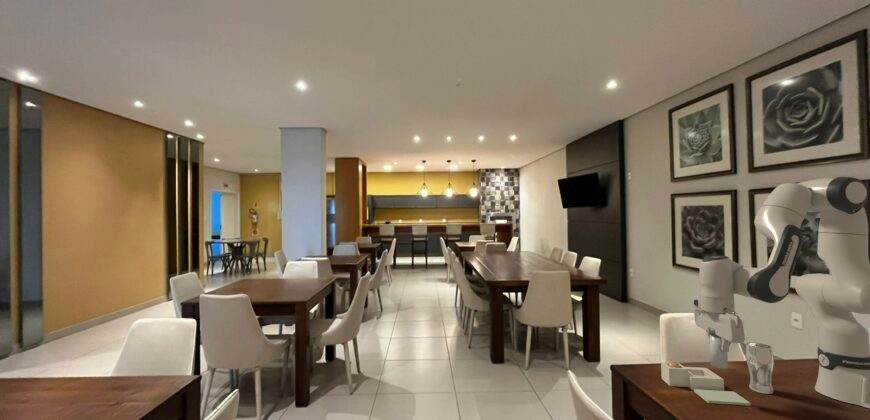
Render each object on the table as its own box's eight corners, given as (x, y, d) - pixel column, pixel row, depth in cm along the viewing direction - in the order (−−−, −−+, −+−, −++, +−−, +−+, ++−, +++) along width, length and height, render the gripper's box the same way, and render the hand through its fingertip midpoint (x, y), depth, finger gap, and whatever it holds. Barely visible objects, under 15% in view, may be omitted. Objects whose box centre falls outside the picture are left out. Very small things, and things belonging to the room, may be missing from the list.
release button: (677, 373, 129) (676, 362, 129) (681, 376, 126) (681, 365, 126) (667, 372, 129) (666, 361, 130) (671, 376, 126) (671, 364, 126)
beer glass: (780, 395, 117) (778, 349, 118) (756, 393, 119) (753, 347, 119) (765, 386, 124) (763, 342, 125) (742, 384, 125) (740, 341, 126)
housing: (706, 379, 130) (705, 362, 131) (724, 391, 120) (723, 373, 121) (659, 376, 133) (658, 360, 133) (672, 388, 123) (671, 370, 123)
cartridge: (722, 363, 118) (721, 326, 119) (732, 369, 113) (731, 331, 114) (706, 362, 119) (704, 326, 120) (715, 368, 114) (714, 330, 115)
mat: (733, 393, 119) (733, 391, 119) (751, 405, 111) (750, 403, 111) (694, 391, 121) (694, 389, 121) (708, 403, 113) (708, 400, 113)
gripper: (750, 313, 106) (752, 360, 106) (709, 299, 126) (710, 339, 126) (726, 312, 107) (728, 359, 107) (689, 299, 127) (691, 338, 127)
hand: (718, 348), depth 116 cm, fingers closed on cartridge, 4 cm apart
